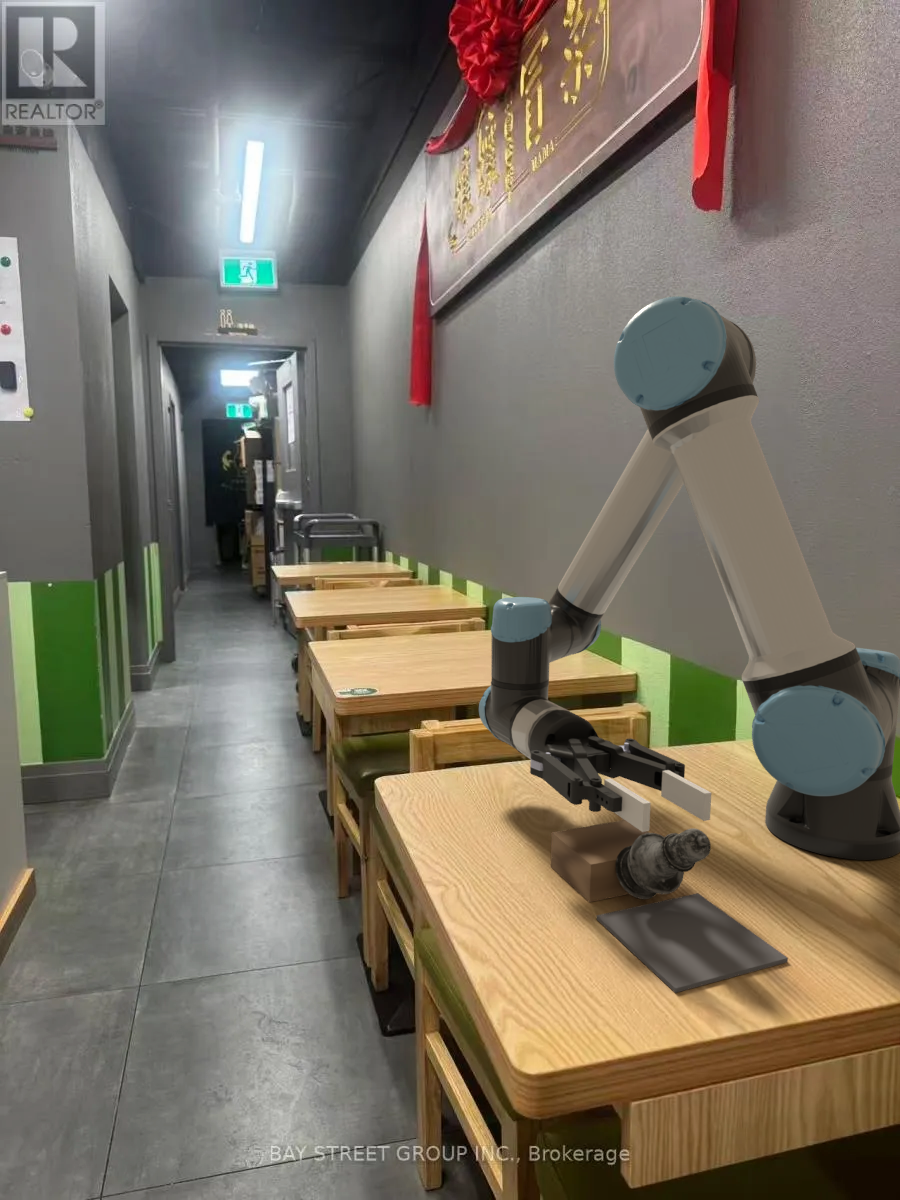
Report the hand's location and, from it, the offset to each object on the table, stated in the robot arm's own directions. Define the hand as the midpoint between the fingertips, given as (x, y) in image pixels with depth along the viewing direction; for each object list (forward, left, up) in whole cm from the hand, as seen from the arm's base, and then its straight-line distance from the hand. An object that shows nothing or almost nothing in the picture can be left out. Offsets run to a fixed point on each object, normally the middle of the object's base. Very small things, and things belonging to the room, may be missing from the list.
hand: (677, 811), depth 73 cm
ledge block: (+7, -8, -11) cm, 16 cm away
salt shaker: (+4, -4, -9) cm, 10 cm away
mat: (-2, +2, -11) cm, 12 cm away
